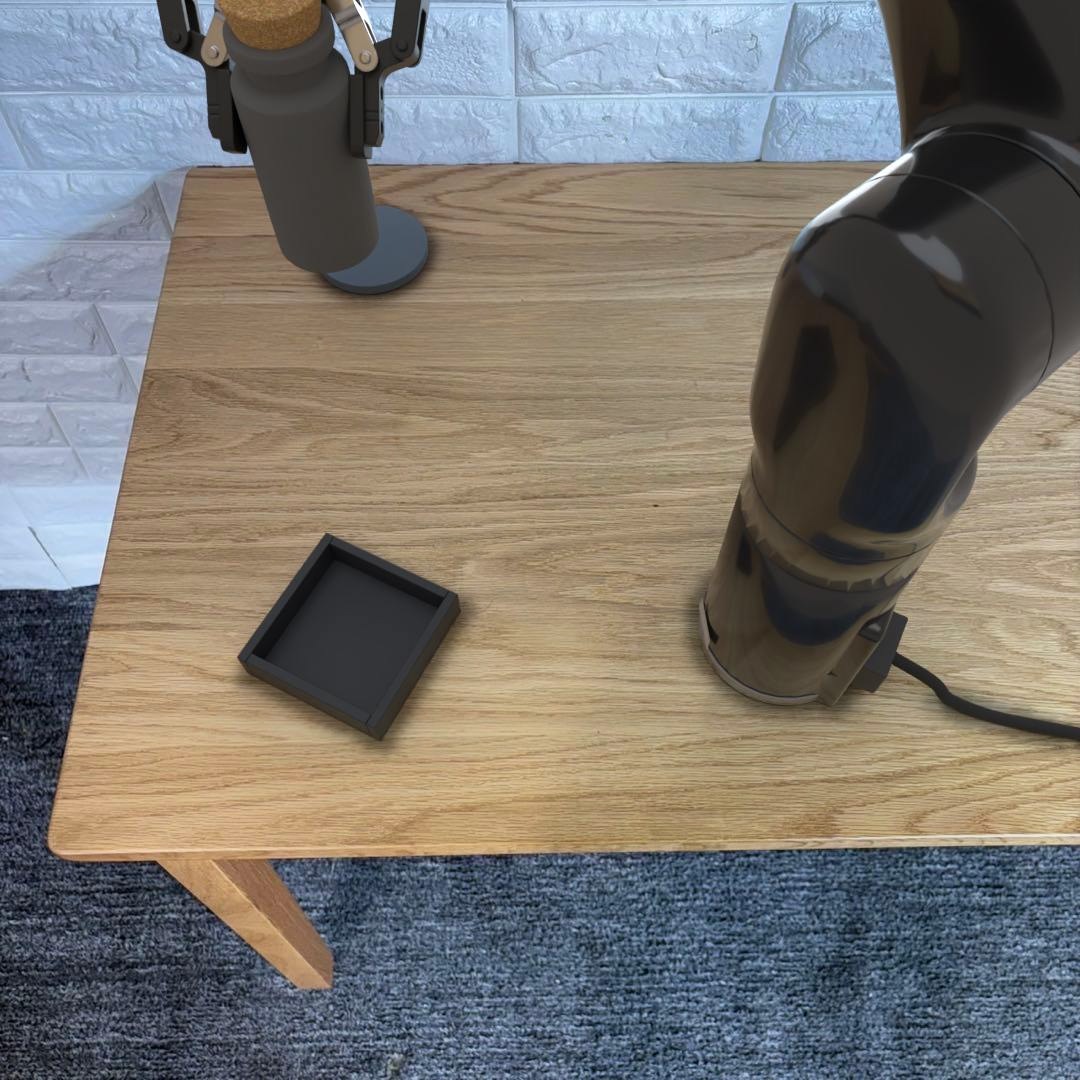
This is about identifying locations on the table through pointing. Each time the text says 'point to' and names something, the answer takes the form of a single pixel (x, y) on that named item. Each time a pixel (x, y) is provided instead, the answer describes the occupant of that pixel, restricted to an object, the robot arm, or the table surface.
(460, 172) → the table surface
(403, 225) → the mat
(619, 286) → the table surface
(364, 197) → the bottle
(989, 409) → the robot arm
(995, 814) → the table surface
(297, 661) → the tray
